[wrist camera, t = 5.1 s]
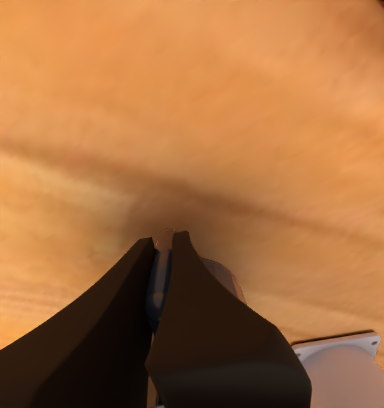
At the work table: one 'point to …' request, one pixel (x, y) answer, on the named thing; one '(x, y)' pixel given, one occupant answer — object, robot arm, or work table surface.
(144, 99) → the work table surface
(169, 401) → the robot arm
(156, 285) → the mug
